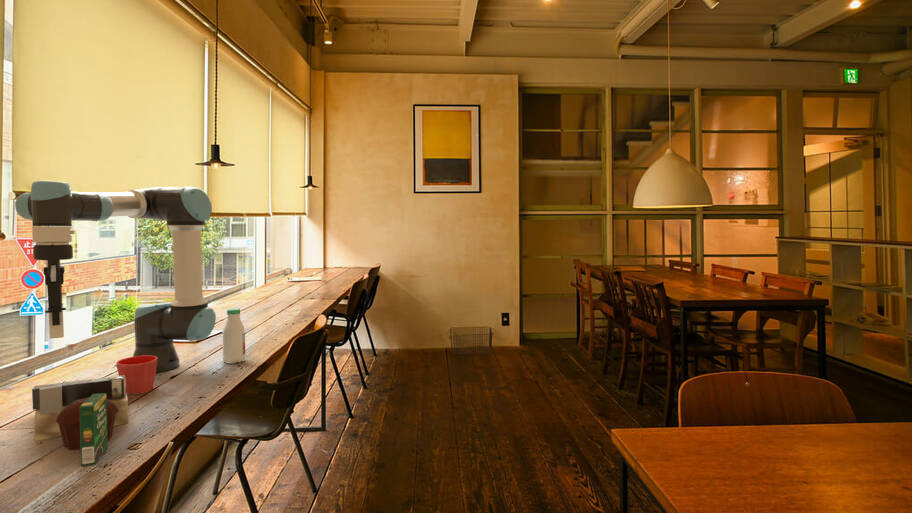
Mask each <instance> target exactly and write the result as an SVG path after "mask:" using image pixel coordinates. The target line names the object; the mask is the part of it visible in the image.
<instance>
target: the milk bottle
mask: <svg viewBox="0 0 912 513" xmlns="http://www.w3.org/2000/svg"><path fill="white" fill-rule="evenodd" d="M226 315H227V320H226V323H225V324H224V327H223V331H222V362H223V361H224V362H239V363H241V362H240V361H243V360H244V361H246V331H245V326H244V324H243V322H242V320H241V316H240V315H241V309H240V308H228V309H226ZM244 361H243V362H244ZM224 362H223V363H224Z"/></svg>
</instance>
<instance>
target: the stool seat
mask: <svg viewBox="0 0 912 513" xmlns="http://www.w3.org/2000/svg"><path fill="white" fill-rule="evenodd" d="M110 400H111V401H113V402H114V403H115V404H116V405H117V407H118V408H119V411H118V412H117V413H116V415H115V421H114V427H116V426H119V425H125V424H129V401H128V400H129V399H128V394H126V396H125V397H124V398H119V399H110ZM66 406H68V405H66ZM66 406H62V409H63V408H65V407H66ZM60 412H61V411H60ZM60 412H54V413H49V414H43V415H40V409H36V410H35V412H34V434H35V435H34V441H35V442H37V441H43V440H48V439H53V438H58V437H62V436H61V432H60V428H59V424H58V423H57V422H56V419H57V417H58V415H59V413H60Z"/></svg>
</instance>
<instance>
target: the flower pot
mask: <svg viewBox="0 0 912 513" xmlns="http://www.w3.org/2000/svg"><path fill="white" fill-rule="evenodd" d="M156 366H157V357H156V356H150V355H145V356H135V357H133V356H130V357H125V358H121V359H119V360H117V361H116V370H117V373H118V376H124V375H125V377H126V395H129V394H130V395H131V394H132V395H140V394H144V393H147V392H150V391H151V390H153V389H154V384H155V380H156V378H155V377H156V373H157V372H156Z"/></svg>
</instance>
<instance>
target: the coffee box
mask: <svg viewBox="0 0 912 513" xmlns="http://www.w3.org/2000/svg"><path fill="white" fill-rule="evenodd" d="M107 436H108V435H107V405H106V393H99V394H92V395H91V396H90V397H89V398H88V399H87V400H86V401H85V402H84V403H83V404H82V405H81V406H80V448H81V450H80V464H81V465H80V466H81V467H85V466H86V467H88V466H94V465H96V464H97V463H98V462H99V461H100V459H101V458H102V457H103V455H104V454H105V453H106V452H107V450H108V449H109V443H108V442H109V441H108V438H107Z"/></svg>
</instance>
